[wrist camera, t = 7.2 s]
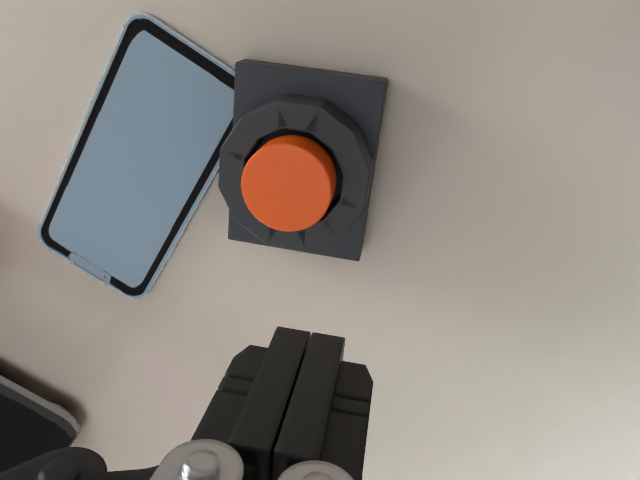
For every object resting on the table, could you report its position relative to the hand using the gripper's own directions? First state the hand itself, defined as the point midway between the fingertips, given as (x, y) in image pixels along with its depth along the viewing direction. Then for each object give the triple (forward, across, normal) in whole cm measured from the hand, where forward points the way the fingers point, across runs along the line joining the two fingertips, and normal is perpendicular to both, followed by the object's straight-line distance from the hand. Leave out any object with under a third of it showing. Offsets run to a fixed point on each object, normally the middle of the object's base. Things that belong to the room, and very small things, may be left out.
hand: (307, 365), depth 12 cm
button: (+14, +3, 0) cm, 14 cm away
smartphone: (+18, +12, +2) cm, 22 cm away
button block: (+17, +3, 0) cm, 17 cm away
